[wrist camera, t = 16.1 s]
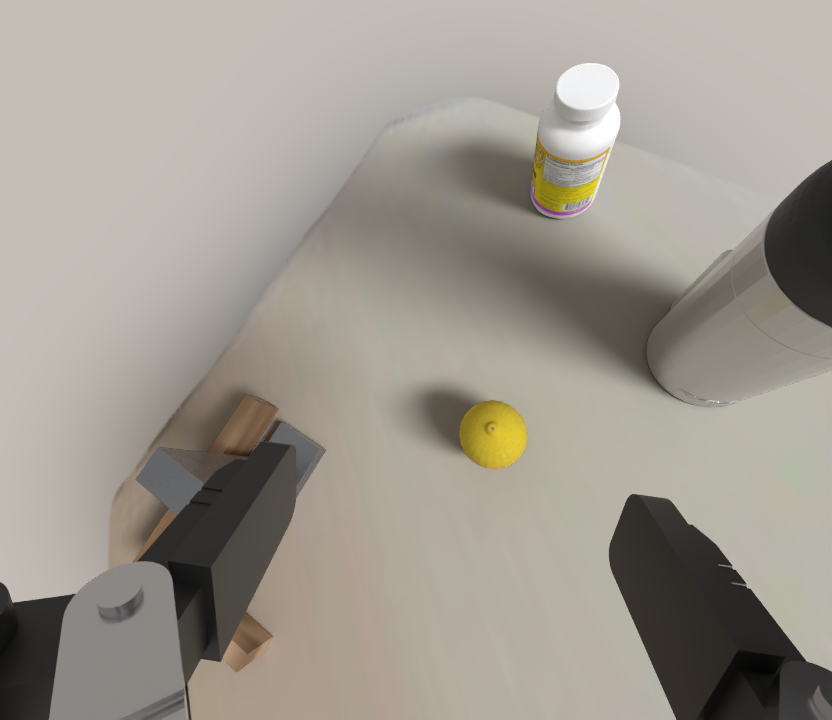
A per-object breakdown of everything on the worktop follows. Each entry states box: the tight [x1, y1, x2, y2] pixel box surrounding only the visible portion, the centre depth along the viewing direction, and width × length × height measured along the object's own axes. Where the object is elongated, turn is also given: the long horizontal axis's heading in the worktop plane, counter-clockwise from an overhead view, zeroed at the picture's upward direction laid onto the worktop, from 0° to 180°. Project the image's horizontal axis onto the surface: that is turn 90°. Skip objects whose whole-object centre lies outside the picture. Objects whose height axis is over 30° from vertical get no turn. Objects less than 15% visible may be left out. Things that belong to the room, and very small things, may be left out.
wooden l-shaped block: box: [133, 394, 278, 673], centre depth 37 cm, size 14×18×4 cm
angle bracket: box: [135, 422, 326, 515], centre depth 34 cm, size 5×6×14 cm
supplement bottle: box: [531, 63, 620, 219], centre depth 38 cm, size 7×7×13 cm
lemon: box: [459, 400, 527, 469], centre depth 34 cm, size 6×6×8 cm
